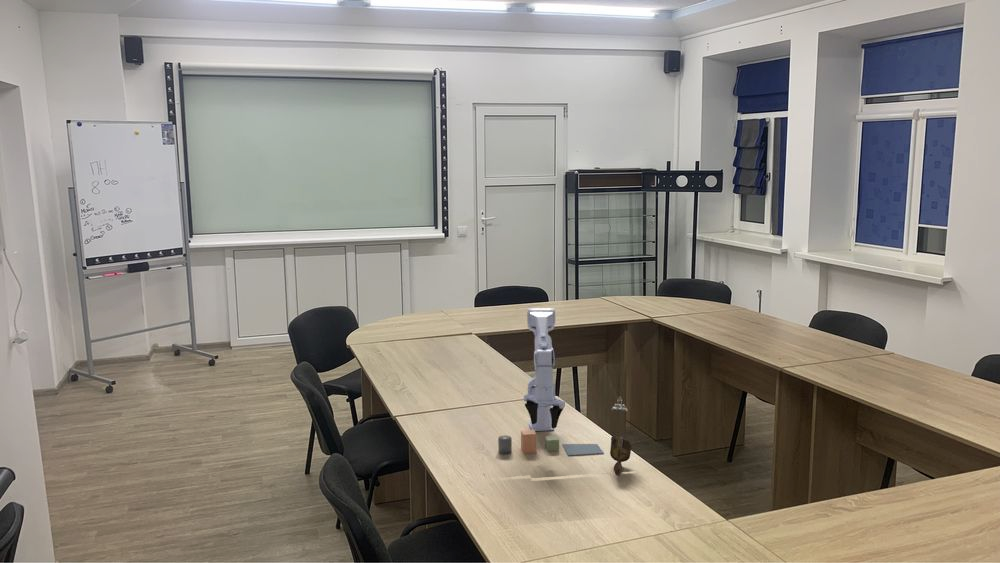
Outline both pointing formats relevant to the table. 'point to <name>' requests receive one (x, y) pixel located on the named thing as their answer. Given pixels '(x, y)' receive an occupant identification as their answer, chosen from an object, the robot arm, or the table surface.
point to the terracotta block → (528, 441)
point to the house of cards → (620, 406)
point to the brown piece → (620, 452)
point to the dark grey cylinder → (505, 444)
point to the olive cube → (552, 443)
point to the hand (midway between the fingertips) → (544, 425)
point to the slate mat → (582, 449)
